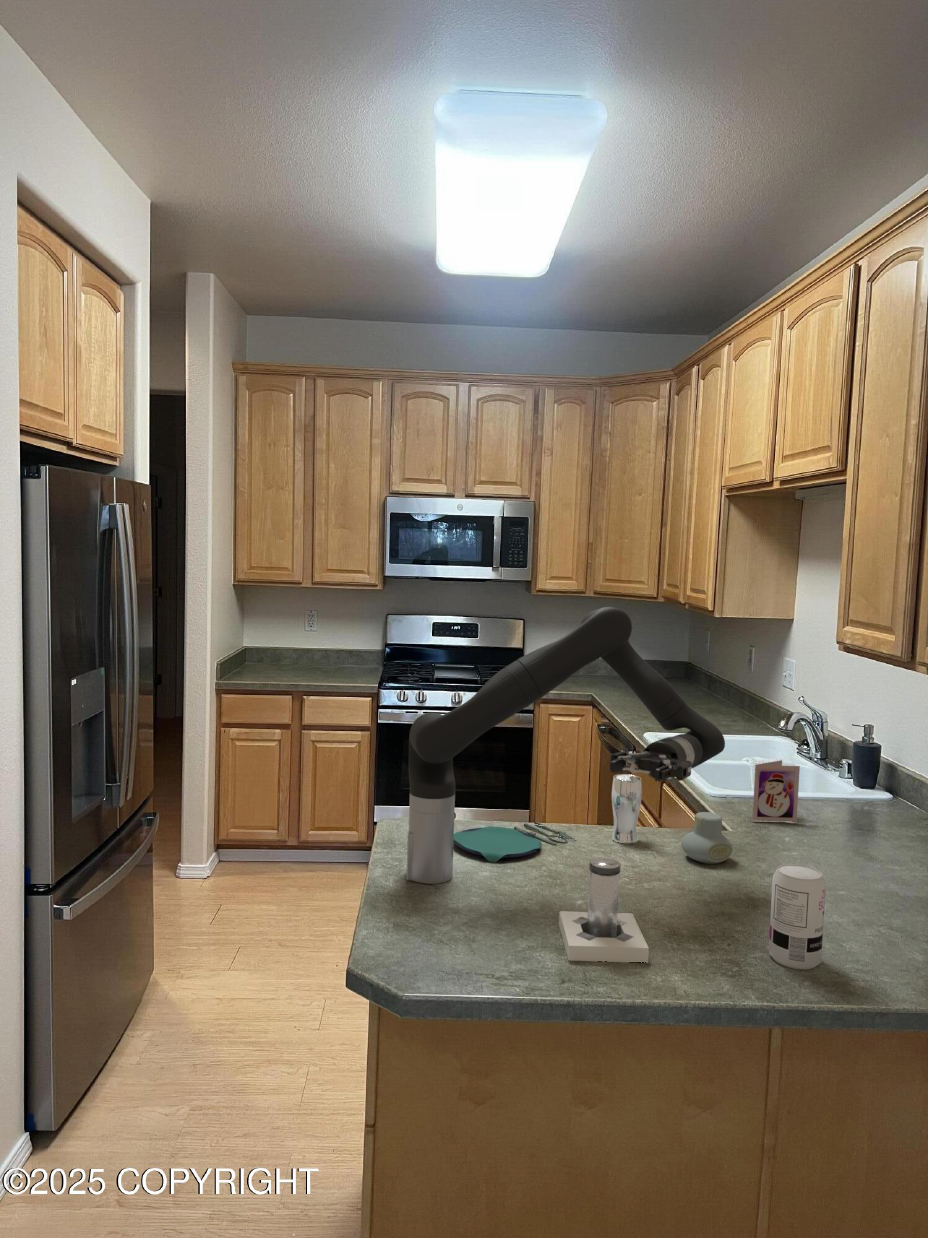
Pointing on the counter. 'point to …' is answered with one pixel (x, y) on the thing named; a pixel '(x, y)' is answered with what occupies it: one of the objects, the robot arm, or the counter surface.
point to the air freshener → (707, 840)
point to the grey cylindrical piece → (603, 897)
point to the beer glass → (626, 807)
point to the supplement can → (797, 916)
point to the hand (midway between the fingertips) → (634, 771)
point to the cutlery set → (504, 841)
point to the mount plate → (602, 940)
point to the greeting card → (776, 792)
